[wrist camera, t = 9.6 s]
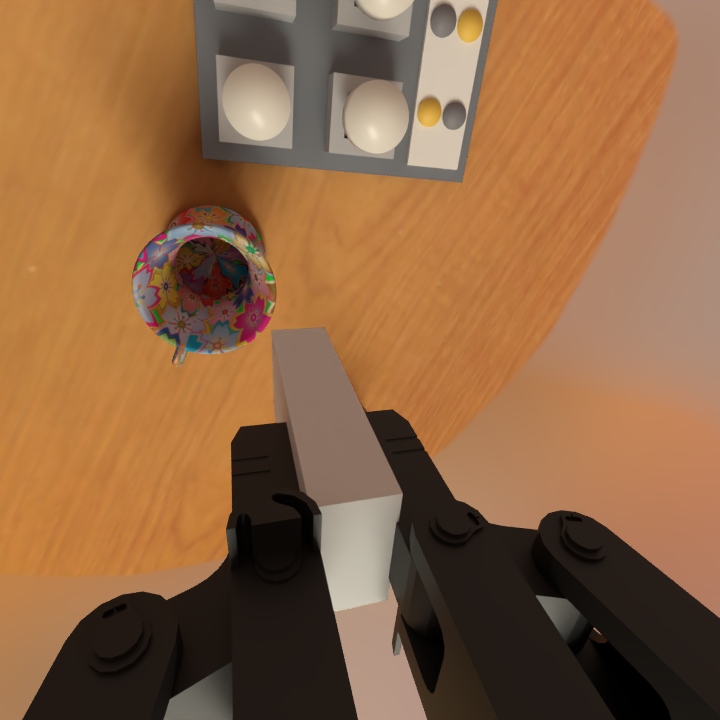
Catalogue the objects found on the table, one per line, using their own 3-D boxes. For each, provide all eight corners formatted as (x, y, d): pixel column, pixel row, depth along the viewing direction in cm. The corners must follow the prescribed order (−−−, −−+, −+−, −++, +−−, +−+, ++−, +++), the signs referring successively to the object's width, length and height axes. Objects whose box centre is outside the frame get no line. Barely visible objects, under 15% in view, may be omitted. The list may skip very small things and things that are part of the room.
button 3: (333, 147, 34) (343, 150, 30) (338, 79, 31) (349, 74, 28) (388, 153, 35) (403, 156, 31) (396, 88, 33) (413, 84, 29)
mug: (179, 177, 35) (157, 196, 26) (285, 228, 39) (298, 261, 30) (135, 305, 39) (102, 360, 30) (235, 340, 43) (232, 399, 34)
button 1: (225, 135, 33) (223, 136, 29) (223, 65, 31) (220, 58, 27) (285, 141, 34) (289, 143, 30) (286, 74, 32) (291, 68, 28)
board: (204, 157, 35) (200, 160, 32) (188, -120, 28) (181, -152, 24) (455, 180, 40) (473, 185, 37) (497, -46, 33) (525, -64, 30)
